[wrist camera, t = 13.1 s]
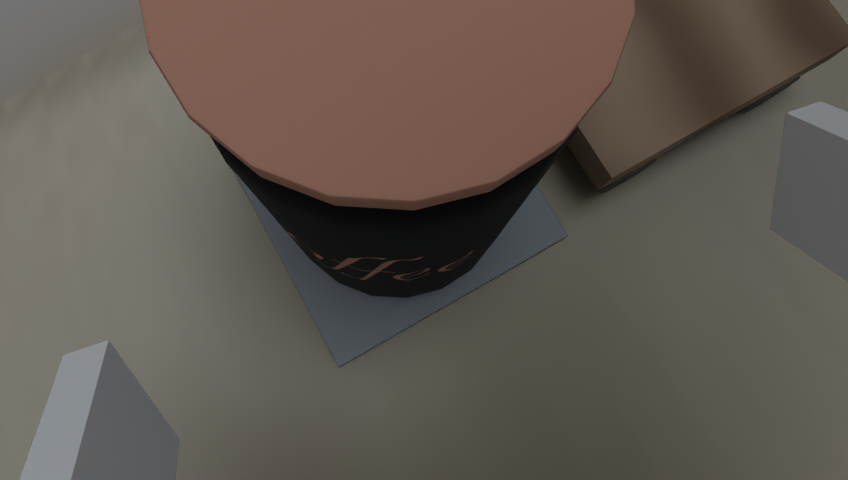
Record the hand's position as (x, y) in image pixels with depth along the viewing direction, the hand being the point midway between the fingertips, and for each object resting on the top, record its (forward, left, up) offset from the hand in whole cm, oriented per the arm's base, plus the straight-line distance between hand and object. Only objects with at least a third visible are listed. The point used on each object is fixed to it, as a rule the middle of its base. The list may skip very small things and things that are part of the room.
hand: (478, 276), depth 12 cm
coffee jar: (-2, -7, -18) cm, 19 cm away
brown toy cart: (-17, -7, -18) cm, 26 cm away
